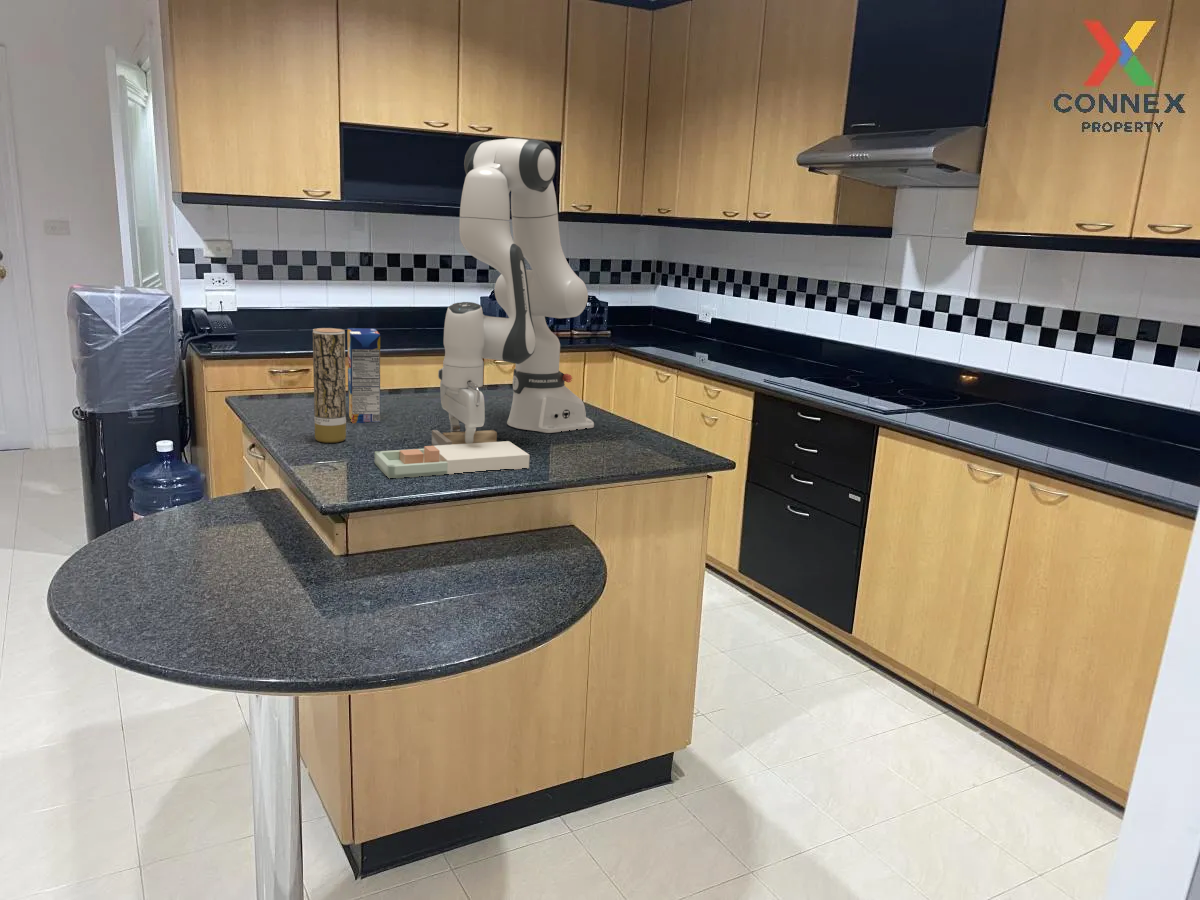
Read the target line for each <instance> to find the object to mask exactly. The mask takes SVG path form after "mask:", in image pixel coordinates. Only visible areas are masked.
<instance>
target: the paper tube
mask: <svg viewBox="0 0 1200 900" xmlns="http://www.w3.org/2000/svg"><path fill="white" fill-rule="evenodd" d="M312 360H313V362H312V365H313V367H312V368H313V404H314V405H313V409H314V411H313V414H314V417H313V418H314V420H313V421H314V439H315V440H316V441H317V442H320V443H324V444H335V443H341V442H343V441H345V440H346V438H347V415H346V414H347V406H346V404H347V403H346V401H347V399H346V396H347V395H346V394H347V392H346V389H347V388H346V331H345V329H342V328H335V327H334V328H333V327H319V328H313V329H312Z"/></svg>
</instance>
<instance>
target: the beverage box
mask: <svg viewBox="0 0 1200 900" xmlns="http://www.w3.org/2000/svg"><path fill="white" fill-rule="evenodd" d="M346 330H347V407H348V409H347V414H348V417H349V420H350V419H351V420H350V422H352V423H351V424H366V423H365V422H380V423H381V333H380V332H379V331H378V330H377V329H376V328H366V327H365V328H364V327H363V328H359V327H357V328H355V327H348V328H346Z"/></svg>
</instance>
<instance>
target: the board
mask: <svg viewBox="0 0 1200 900" xmlns="http://www.w3.org/2000/svg"><path fill="white" fill-rule="evenodd" d="M435 447H436V448H437V449H438V450H439V451H440V452H439V462H443V461H446V462H447V463H448V468H447V474H449V475H455V474H454V473H462V474H464V473H463V472H475V471H486V470H500V469H514V470H523V469H522V468H527V469H530V454H529V453H528V452H526V451H525V450H523V449H522V448H520V447H519V446H517V445H515V444H514V443H512V442H511V441H510V440H506V441H497V442H485V443H469V444H452V445H436V446H435ZM475 473H476V472H475Z"/></svg>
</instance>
